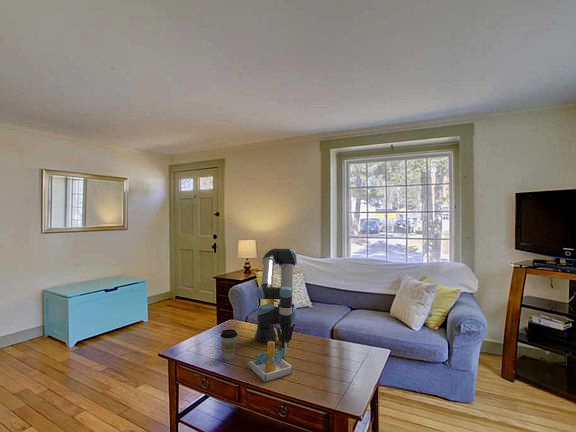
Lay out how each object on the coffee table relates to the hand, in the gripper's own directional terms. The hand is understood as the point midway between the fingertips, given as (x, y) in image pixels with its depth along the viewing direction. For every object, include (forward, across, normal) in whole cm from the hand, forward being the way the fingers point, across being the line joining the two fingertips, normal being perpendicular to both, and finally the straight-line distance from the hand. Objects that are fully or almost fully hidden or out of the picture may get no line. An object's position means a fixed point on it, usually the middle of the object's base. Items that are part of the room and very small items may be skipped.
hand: (284, 352), depth 184 cm
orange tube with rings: (+2, +16, +10) cm, 19 cm away
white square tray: (+2, +15, +9) cm, 18 cm away
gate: (+2, +10, 0) cm, 10 cm away
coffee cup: (+3, +29, -17) cm, 34 cm away
